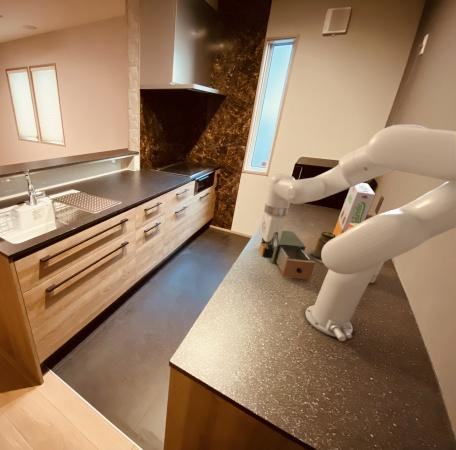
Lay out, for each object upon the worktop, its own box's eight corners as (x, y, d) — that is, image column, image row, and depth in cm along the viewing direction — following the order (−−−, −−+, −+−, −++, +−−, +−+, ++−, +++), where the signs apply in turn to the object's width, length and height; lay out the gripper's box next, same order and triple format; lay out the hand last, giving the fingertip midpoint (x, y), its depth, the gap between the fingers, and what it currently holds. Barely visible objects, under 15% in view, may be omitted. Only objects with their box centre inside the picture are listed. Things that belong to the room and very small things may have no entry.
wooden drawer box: (310, 281, 96) (317, 264, 93) (283, 278, 97) (288, 261, 94) (296, 260, 110) (301, 245, 106) (272, 258, 111) (276, 243, 107)
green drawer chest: (299, 265, 108) (305, 246, 104) (271, 262, 109) (277, 243, 105) (287, 249, 121) (292, 231, 117) (263, 246, 122) (267, 229, 118)
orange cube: (272, 257, 93) (274, 248, 92) (261, 256, 94) (263, 247, 92) (269, 252, 97) (271, 243, 95) (258, 251, 97) (260, 242, 96)
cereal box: (349, 254, 118) (375, 194, 105) (334, 250, 121) (357, 191, 108) (346, 237, 135) (367, 183, 123) (332, 234, 138) (352, 181, 126)
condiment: (331, 258, 114) (340, 235, 109) (322, 263, 110) (331, 239, 105) (315, 251, 120) (323, 229, 115) (306, 256, 115) (314, 233, 110)
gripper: (259, 202, 96) (250, 243, 103) (272, 217, 81) (261, 265, 88) (279, 203, 95) (269, 245, 103) (296, 219, 80) (283, 267, 87)
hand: (265, 254), depth 95 cm, fingers closed on orange cube, 4 cm apart
